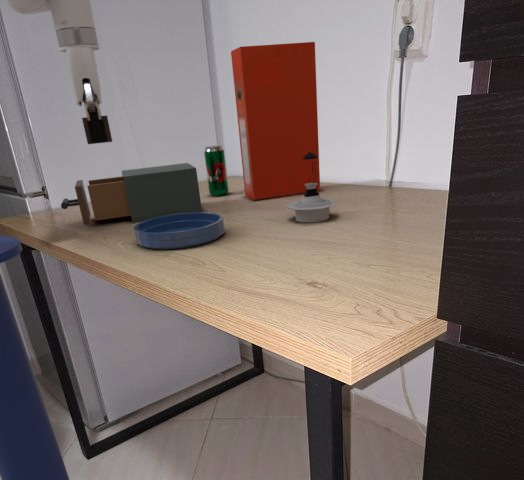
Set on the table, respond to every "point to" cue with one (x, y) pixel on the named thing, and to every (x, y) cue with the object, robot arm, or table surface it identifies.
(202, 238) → the bowl
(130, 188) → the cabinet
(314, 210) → the oil lamp
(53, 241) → the table surface
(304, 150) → the file binder
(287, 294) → the table surface
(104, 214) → the drawer
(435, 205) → the table surface
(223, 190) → the soda can
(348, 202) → the table surface
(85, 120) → the block
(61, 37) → the robot arm
